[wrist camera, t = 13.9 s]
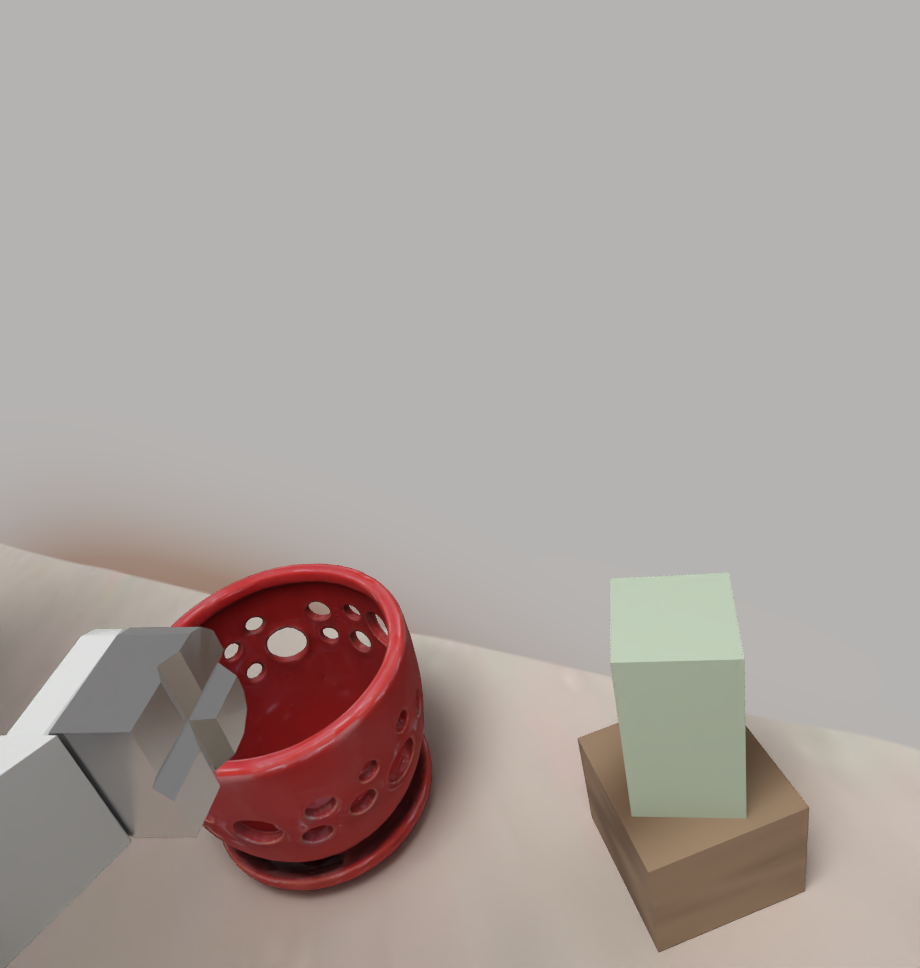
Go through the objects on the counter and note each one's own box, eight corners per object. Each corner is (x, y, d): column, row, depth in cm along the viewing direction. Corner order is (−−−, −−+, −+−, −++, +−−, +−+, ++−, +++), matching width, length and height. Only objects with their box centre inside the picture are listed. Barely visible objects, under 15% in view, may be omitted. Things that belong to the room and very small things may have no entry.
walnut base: (591, 816, 40) (577, 738, 37) (718, 767, 41) (715, 686, 38) (658, 952, 34) (648, 872, 31) (804, 890, 35) (809, 807, 32)
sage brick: (746, 818, 32) (744, 659, 27) (631, 816, 33) (610, 662, 28) (732, 727, 36) (728, 572, 31) (629, 728, 37) (610, 578, 32)
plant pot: (169, 877, 42) (64, 725, 36) (310, 690, 52) (246, 544, 45) (377, 970, 36) (295, 807, 30) (494, 739, 45) (451, 578, 39)
